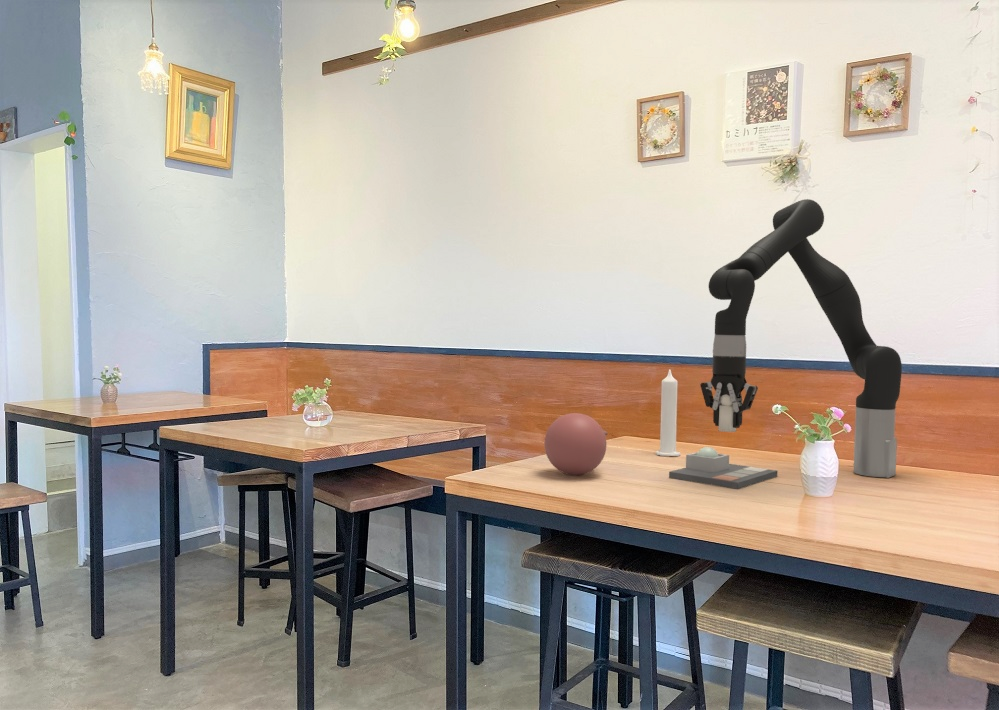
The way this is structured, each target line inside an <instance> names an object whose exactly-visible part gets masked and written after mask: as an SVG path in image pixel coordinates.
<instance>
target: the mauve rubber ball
mask: <svg viewBox="0 0 999 710" xmlns="http://www.w3.org/2000/svg"><path fill="white" fill-rule="evenodd" d="M608 433H609V432H608V431H607V430H604V429H603V428H602V426H601V425H600V424H599V423H598V421H597V420H595V419H594V418H592V417H591V416H589V415H587V414H585V413H580V412H572V413H571V412H570V413H566V414H563V415H561V416H559V417H558V418H556V419H555V420H554V421H553V422H552V423H551V424H550V425H549V426H548V428H547V431H546V432H545V437H544V441H543V442H544V443H543V445H544V451H545V454H546V457H547V460H549V462H550V463H551V465H552V466H553V467H554V468H555V469H556V470H558V471H560V472H562V473H563V474H566V475H570V476H580V475H586V474H588V473H591V472H592V471H594V470H595V469H597V468H598V466H599V465H600V464H601V462H602V461H603V460H604V458H605V455H606V452H607V451H606V450H607V437H606V436H607V435H608Z"/></svg>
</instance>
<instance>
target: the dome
mask: <svg viewBox="0 0 999 710" xmlns="http://www.w3.org/2000/svg"><path fill="white" fill-rule="evenodd" d="M697 452H698V453H697V456H703V457H710V458H715V457H719V456H718V454H719V453H718V451H717V450H716V449H715V448H713V447H712V446H704V447H701V448H700V449H699V450H698V451H697Z"/></svg>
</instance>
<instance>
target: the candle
mask: <svg viewBox="0 0 999 710" xmlns="http://www.w3.org/2000/svg"><path fill="white" fill-rule="evenodd" d="M678 383H679V382H678V380H677V379H676V378H674V377H673V375H672V370H671V369H668V373H667V376H666V377H665V378H663V379H662V380H661V393H660V394H661V395H660V396H661V398H660V399H661V400H660V433H659V434H660V436H659V437H660V438H659V439H660V443H659V450H656V451H655V455H656V454H657V456H658V455H660V456H659V457H665V456H677V457H680V456H681V452H680V451H677V417H678V415H677V414H678Z"/></svg>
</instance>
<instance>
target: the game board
mask: <svg viewBox="0 0 999 710" xmlns="http://www.w3.org/2000/svg"><path fill="white" fill-rule="evenodd" d="M697 453H698V451H696V452H692V453H687V454H685V467H682V468H678V469H674V470H670V471H669V473H668V479H675V480H681V481H686V482H693V483H697V484H698V483H700V484H704V485H712V486H717V487H723V488H729V489H734V490H739V489H743V488H746V487H749V486H752V485H755V484H759V483H762V482H765V481H768V480H770V479H773V478H777V477H778V470H776V469H769V468H761V467H755V466H747V465H741V464H733V463H730V455H729V454H724V453H718V456H719V457H715V458H710V457H703V456H697Z"/></svg>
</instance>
